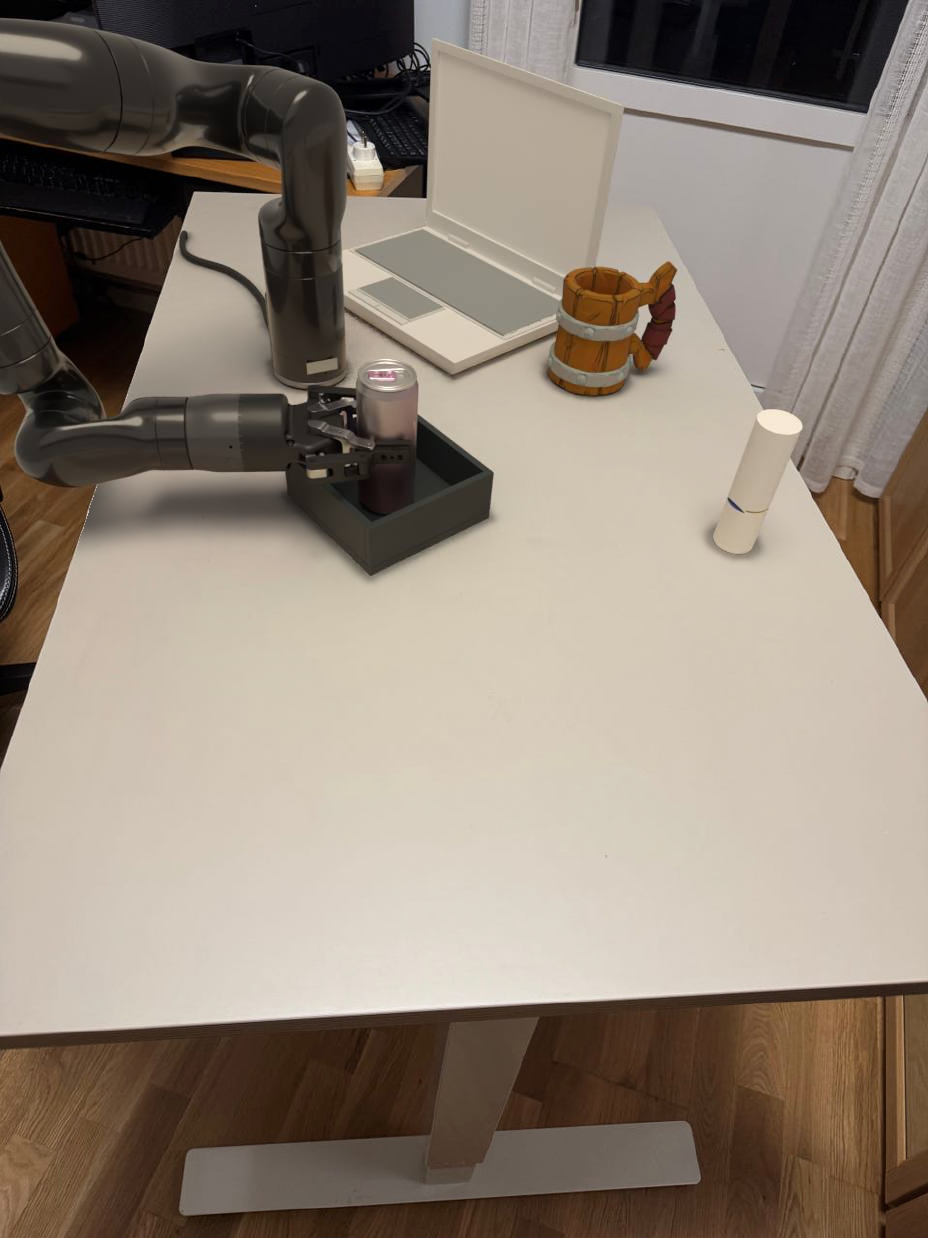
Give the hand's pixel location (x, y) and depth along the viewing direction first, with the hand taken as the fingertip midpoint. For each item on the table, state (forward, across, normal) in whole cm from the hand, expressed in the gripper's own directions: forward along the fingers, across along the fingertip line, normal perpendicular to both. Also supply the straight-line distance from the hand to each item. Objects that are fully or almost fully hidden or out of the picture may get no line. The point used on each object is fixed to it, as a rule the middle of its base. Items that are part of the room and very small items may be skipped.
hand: (411, 431), depth 84 cm
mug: (+28, +27, +10) cm, 40 cm away
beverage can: (-2, 0, +9) cm, 9 cm away
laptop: (+8, +47, +10) cm, 49 cm away
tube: (+34, -7, +10) cm, 36 cm away
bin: (-2, 0, +10) cm, 10 cm away
